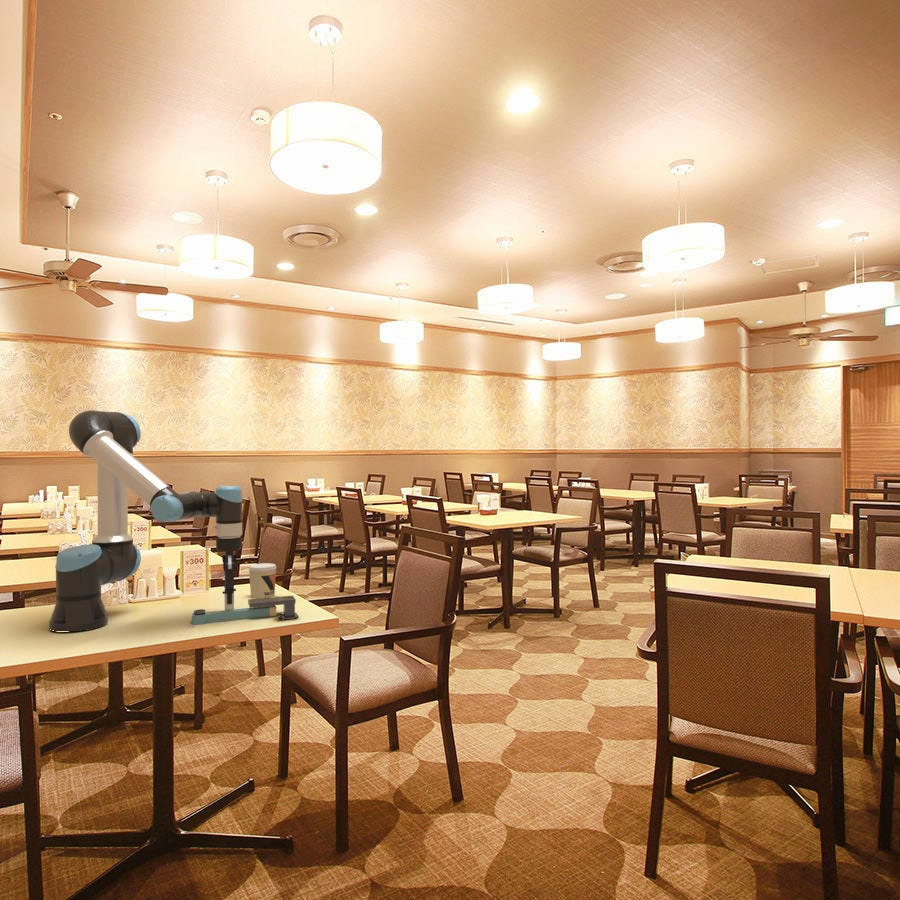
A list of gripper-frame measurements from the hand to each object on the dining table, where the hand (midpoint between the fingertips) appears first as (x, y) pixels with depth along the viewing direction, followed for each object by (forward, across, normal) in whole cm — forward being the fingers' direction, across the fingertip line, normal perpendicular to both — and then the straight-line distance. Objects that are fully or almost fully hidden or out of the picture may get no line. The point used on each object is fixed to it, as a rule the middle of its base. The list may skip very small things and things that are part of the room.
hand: (229, 613), depth 195 cm
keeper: (+2, +2, +13) cm, 13 cm away
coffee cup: (+3, -27, +12) cm, 30 cm away
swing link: (+1, +2, +2) cm, 3 cm away
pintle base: (+2, +3, -8) cm, 9 cm away
